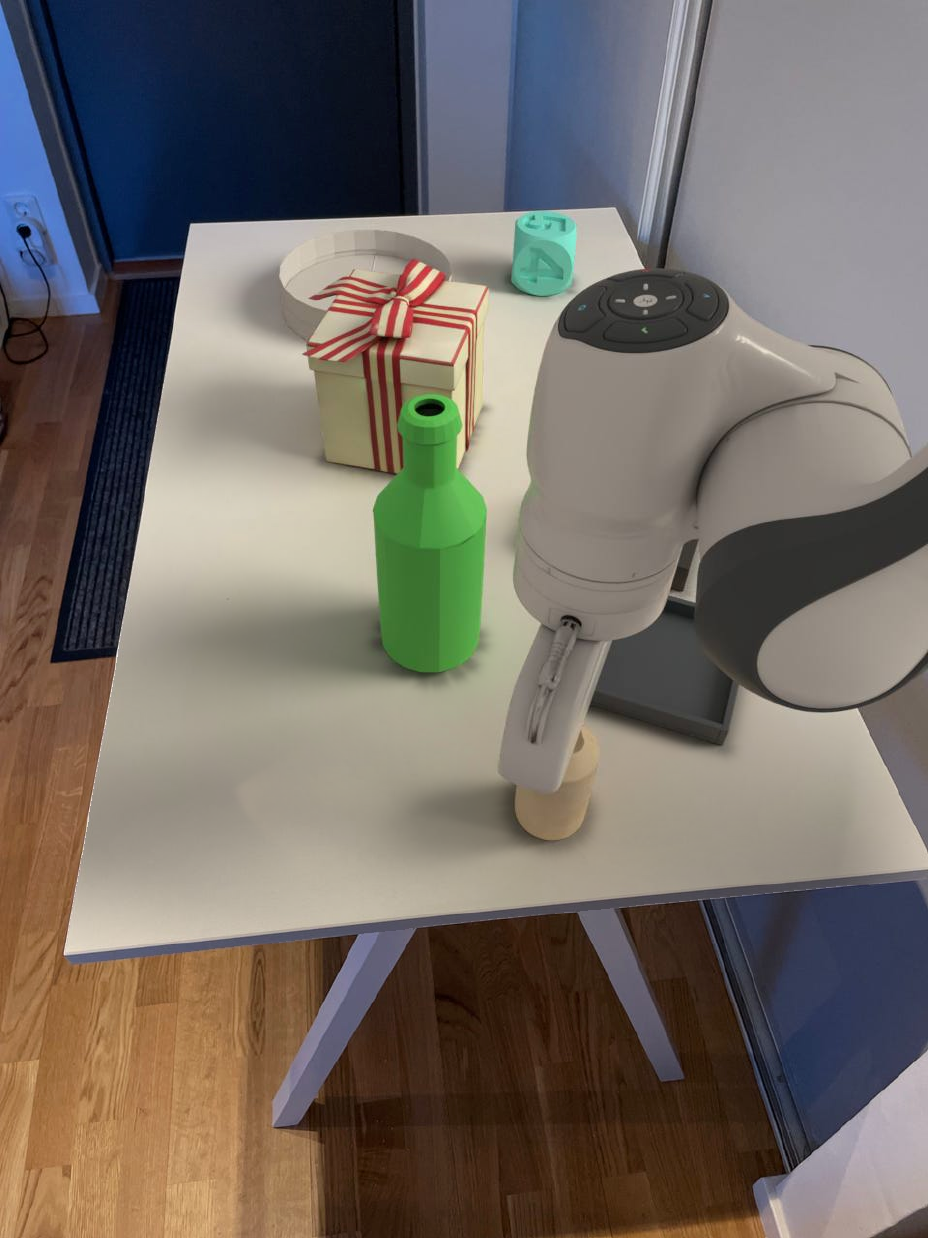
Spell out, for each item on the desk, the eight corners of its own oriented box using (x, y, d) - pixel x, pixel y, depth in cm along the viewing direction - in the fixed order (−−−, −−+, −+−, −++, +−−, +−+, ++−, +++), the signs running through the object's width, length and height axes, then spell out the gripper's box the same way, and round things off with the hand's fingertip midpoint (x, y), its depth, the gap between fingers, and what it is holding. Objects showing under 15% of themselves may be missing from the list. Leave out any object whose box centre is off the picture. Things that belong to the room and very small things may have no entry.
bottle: (459, 595, 86) (466, 362, 68) (494, 662, 81) (513, 430, 62) (368, 618, 84) (350, 385, 65) (399, 690, 79) (388, 458, 60)
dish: (297, 260, 127) (293, 225, 124) (456, 267, 127) (457, 232, 124) (268, 348, 113) (262, 311, 109) (447, 357, 113) (448, 320, 109)
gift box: (330, 383, 108) (316, 241, 95) (485, 400, 107) (492, 258, 94) (290, 475, 97) (268, 328, 84) (463, 495, 96) (467, 349, 83)
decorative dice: (570, 298, 123) (577, 240, 117) (510, 294, 123) (514, 236, 117) (570, 268, 128) (576, 211, 122) (512, 265, 128) (516, 208, 122)
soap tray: (748, 633, 84) (753, 618, 82) (722, 746, 76) (728, 732, 74) (608, 593, 87) (611, 578, 85) (568, 698, 79) (571, 684, 77)
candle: (499, 806, 71) (507, 733, 64) (548, 766, 74) (562, 691, 66) (550, 855, 69) (564, 785, 61) (599, 812, 71) (619, 739, 64)
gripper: (600, 722, 44) (566, 858, 54) (685, 469, 57) (644, 618, 67) (476, 683, 45) (466, 822, 56) (587, 444, 58) (562, 593, 68)
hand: (564, 708), depth 61 cm, fingers open, 8 cm apart
